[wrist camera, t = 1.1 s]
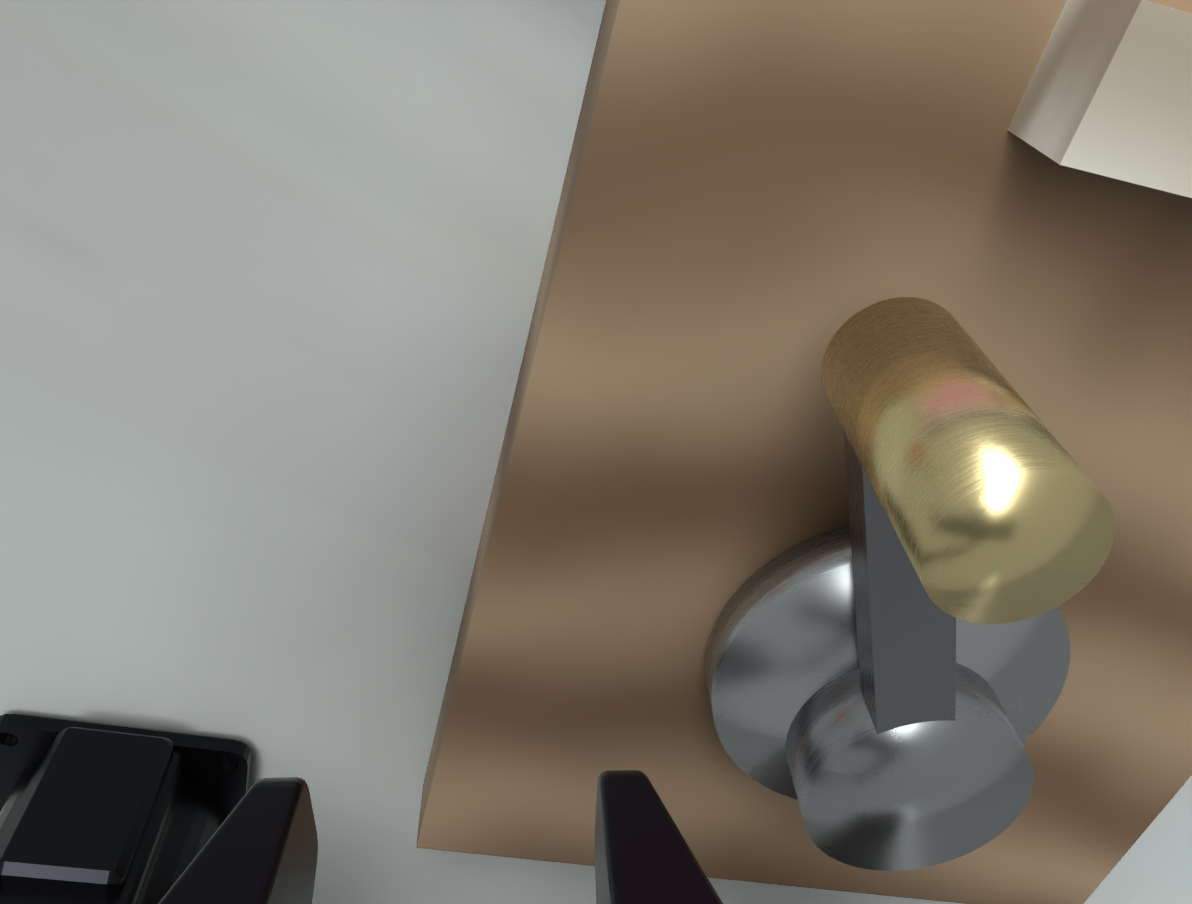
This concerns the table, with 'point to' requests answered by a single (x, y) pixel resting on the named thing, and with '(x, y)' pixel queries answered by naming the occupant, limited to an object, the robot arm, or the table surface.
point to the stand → (829, 405)
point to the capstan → (913, 605)
